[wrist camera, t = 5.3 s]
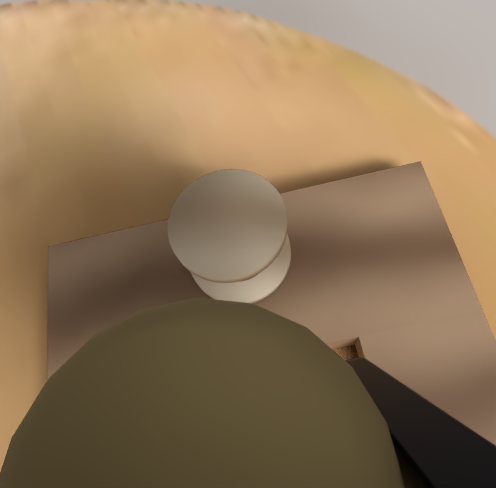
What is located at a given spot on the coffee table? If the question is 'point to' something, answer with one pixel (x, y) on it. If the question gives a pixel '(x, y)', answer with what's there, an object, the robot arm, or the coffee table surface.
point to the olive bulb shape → (203, 409)
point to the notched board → (300, 276)
